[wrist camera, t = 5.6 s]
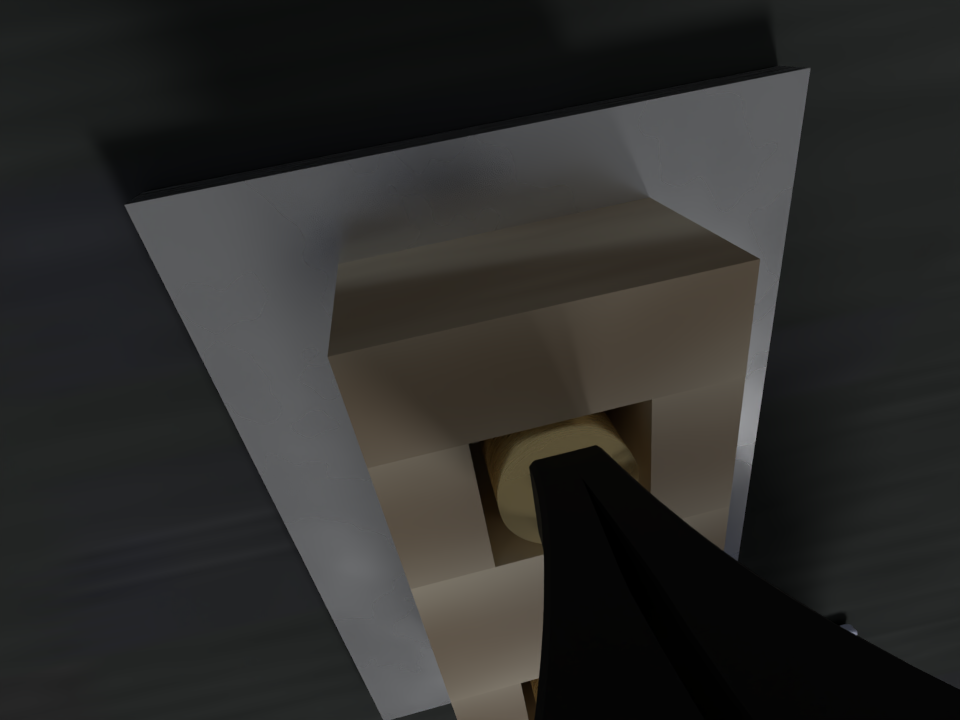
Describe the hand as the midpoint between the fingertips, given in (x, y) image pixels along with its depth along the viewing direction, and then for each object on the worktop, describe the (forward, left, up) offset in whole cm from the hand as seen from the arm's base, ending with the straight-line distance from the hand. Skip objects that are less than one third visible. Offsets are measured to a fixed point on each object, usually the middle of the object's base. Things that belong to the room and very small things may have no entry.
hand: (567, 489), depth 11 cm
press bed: (-4, 0, -5) cm, 6 cm away
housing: (-4, 0, -5) cm, 6 cm away
